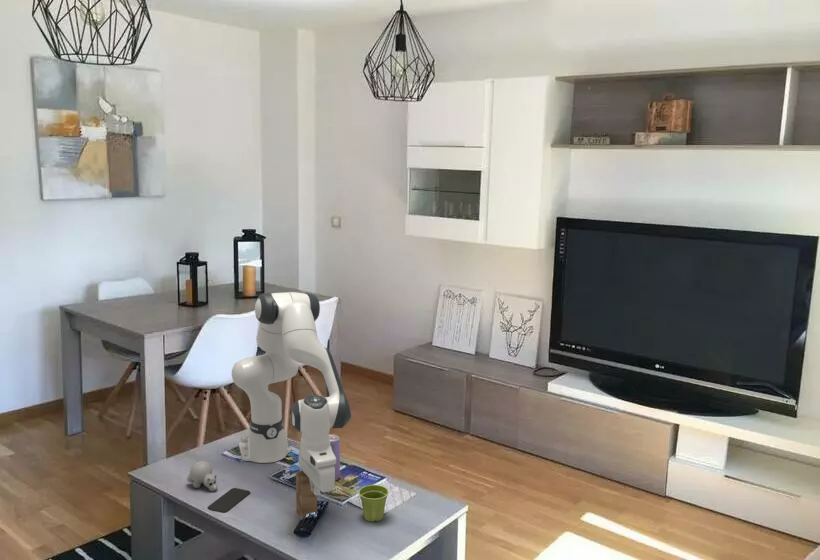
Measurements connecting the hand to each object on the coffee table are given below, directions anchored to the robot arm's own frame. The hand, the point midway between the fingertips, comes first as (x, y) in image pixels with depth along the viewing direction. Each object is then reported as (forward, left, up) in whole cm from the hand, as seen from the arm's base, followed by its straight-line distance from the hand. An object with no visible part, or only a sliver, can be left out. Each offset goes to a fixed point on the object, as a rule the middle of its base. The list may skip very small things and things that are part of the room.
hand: (315, 493), depth 216 cm
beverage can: (-28, +17, -11) cm, 34 cm away
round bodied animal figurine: (-40, -24, -11) cm, 48 cm away
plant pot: (+3, +18, -11) cm, 21 cm away
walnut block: (-8, 0, -11) cm, 13 cm away
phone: (-28, -19, -11) cm, 35 cm away
